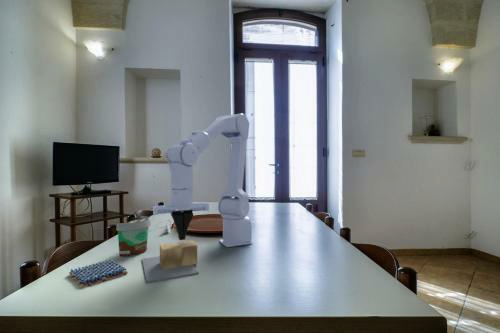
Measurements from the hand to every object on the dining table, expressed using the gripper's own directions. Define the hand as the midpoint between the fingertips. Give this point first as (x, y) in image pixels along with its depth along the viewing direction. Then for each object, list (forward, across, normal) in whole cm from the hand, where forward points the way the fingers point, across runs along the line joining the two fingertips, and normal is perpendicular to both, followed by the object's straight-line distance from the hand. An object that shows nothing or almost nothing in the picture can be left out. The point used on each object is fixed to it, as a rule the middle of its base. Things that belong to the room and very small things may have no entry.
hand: (181, 238), depth 71 cm
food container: (+7, -10, +16) cm, 20 cm away
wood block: (+4, +4, 0) cm, 5 cm away
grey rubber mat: (+7, -4, 0) cm, 8 cm away
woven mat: (+8, -20, +2) cm, 21 cm away
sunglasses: (+8, 0, +41) cm, 42 cm away
